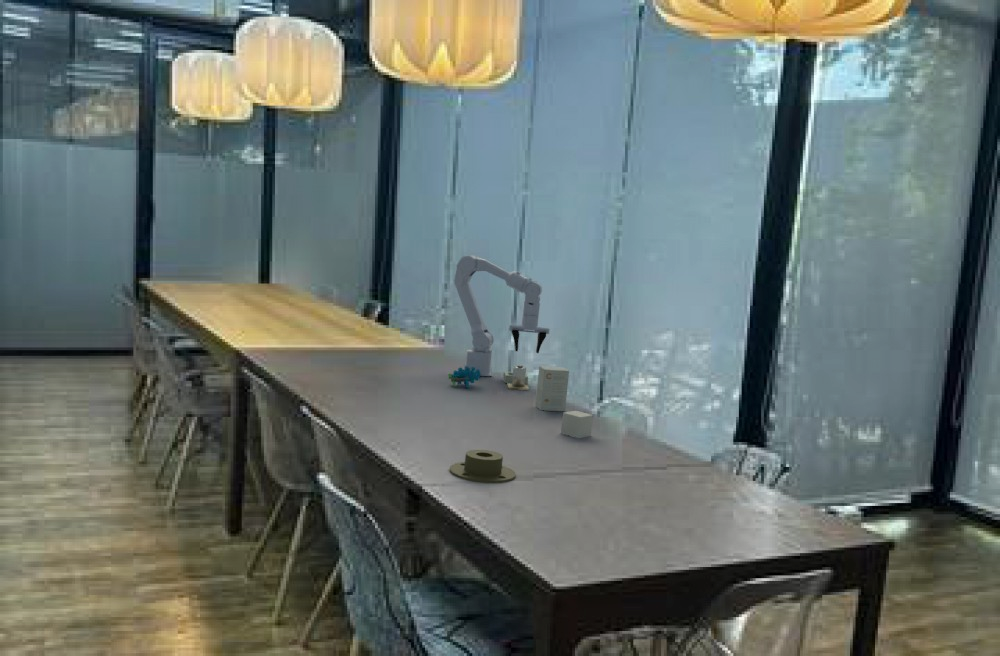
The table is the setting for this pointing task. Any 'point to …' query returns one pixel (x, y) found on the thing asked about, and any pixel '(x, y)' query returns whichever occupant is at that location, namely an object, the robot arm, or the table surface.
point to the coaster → (517, 387)
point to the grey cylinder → (518, 376)
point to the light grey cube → (577, 424)
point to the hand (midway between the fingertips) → (526, 351)
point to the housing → (508, 377)
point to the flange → (483, 467)
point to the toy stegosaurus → (465, 376)
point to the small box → (552, 388)
